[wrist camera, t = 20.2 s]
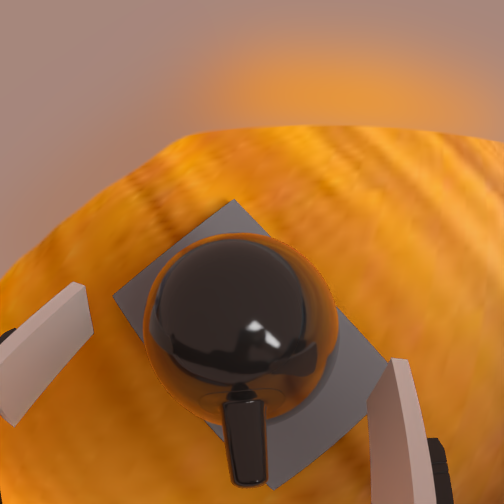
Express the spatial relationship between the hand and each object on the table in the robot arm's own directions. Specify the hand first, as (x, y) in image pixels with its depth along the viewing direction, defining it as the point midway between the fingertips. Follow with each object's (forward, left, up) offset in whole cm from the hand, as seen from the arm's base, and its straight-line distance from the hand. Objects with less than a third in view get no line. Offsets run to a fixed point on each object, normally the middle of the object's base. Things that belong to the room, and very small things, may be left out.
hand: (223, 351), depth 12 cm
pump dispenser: (-1, 0, -10) cm, 11 cm away
